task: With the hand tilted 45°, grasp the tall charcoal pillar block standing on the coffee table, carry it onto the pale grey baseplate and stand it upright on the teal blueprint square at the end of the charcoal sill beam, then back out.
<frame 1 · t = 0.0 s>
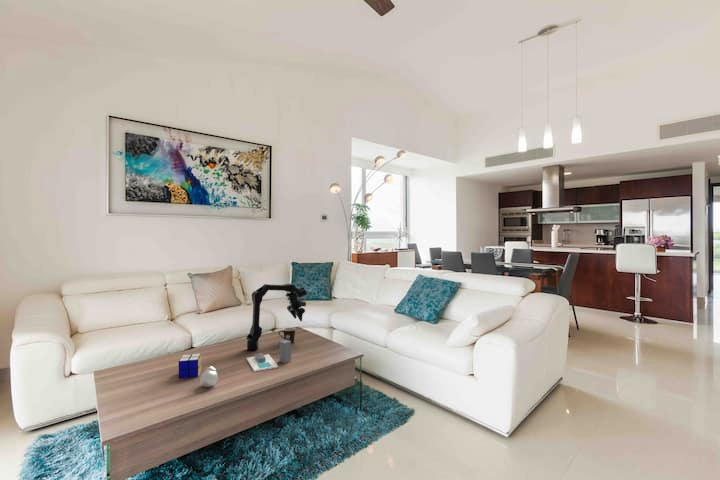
hand: (298, 319, 257), 15 cm above the table, tool pointing down, fingers open, 9 cm apart
pillar: (285, 361, 217), on the table
puzzle cube: (190, 374, 196), on the table
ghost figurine: (209, 386, 182), on the table
baseplate: (261, 363, 213), on the table
coffee mug: (287, 342, 253), on the table
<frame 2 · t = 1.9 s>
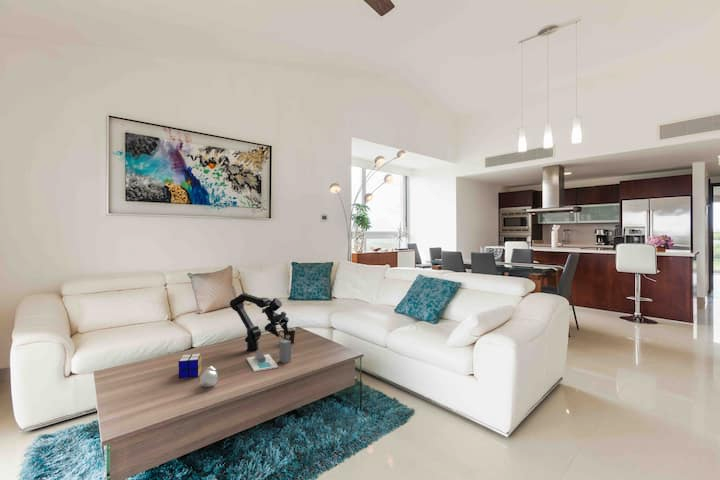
hand: (283, 334, 225), 14 cm above the table, tool tilted 40°, fingers open, 9 cm apart
nothing on the table moved.
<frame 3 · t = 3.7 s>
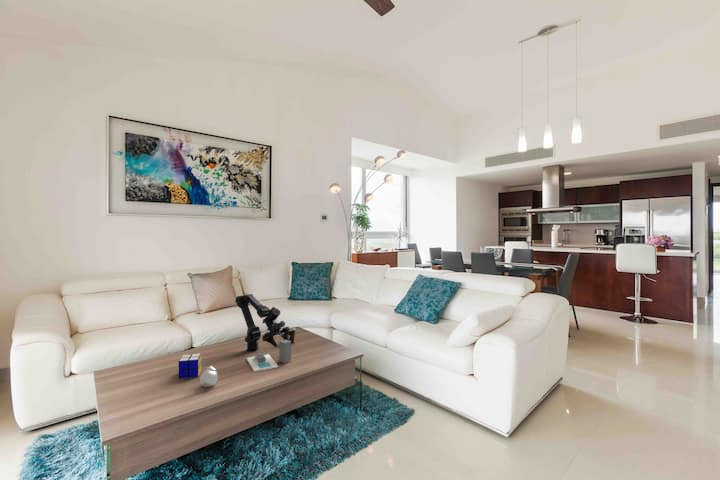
hand: (282, 344, 218), 10 cm above the table, tool tilted 45°, fingers open, 9 cm apart
nothing on the table moved.
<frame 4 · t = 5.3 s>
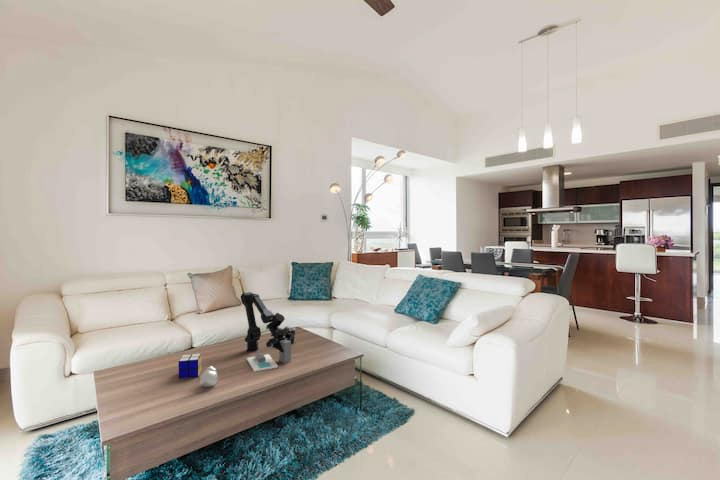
hand: (286, 351, 216), 7 cm above the table, tool tilted 45°, fingers closed on pillar, 5 cm apart
pillar: (285, 361, 217), on the table, touching gripper
everything else where it was.
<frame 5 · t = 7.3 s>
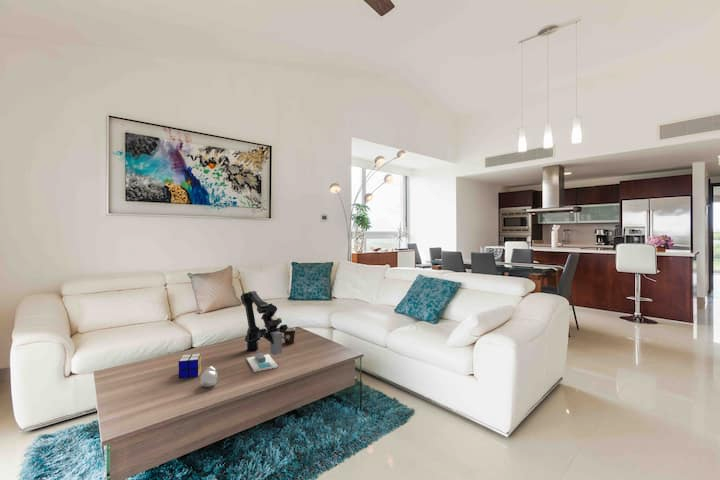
hand: (277, 342, 211), 13 cm above the table, tool tilted 45°, fingers closed on pillar, 5 cm apart
pillar: (276, 352, 212), point 7 cm above the table, touching gripper
everything else where it was.
when the fingers open (9 cm above the table, at t = 9.5 s): pillar drops 1 cm, resting on baseplate.
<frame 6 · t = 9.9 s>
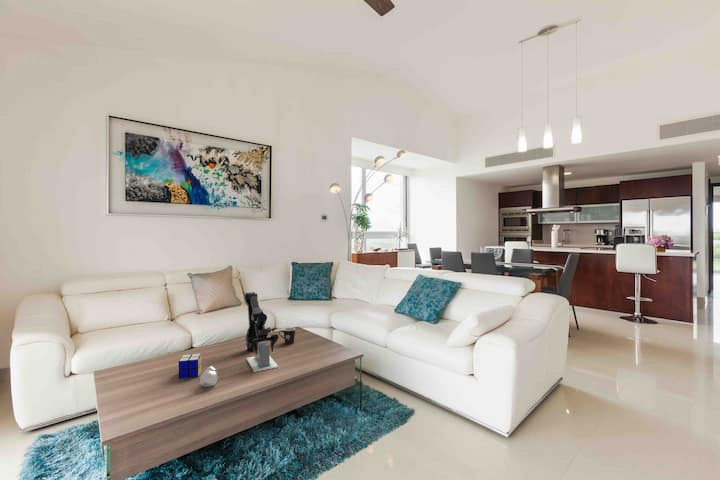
hand: (264, 353, 206), 9 cm above the table, tool tilted 45°, fingers open, 9 cm apart
pillar: (264, 365, 208), point 1 cm above the table, touching baseplate
everything else where it was.
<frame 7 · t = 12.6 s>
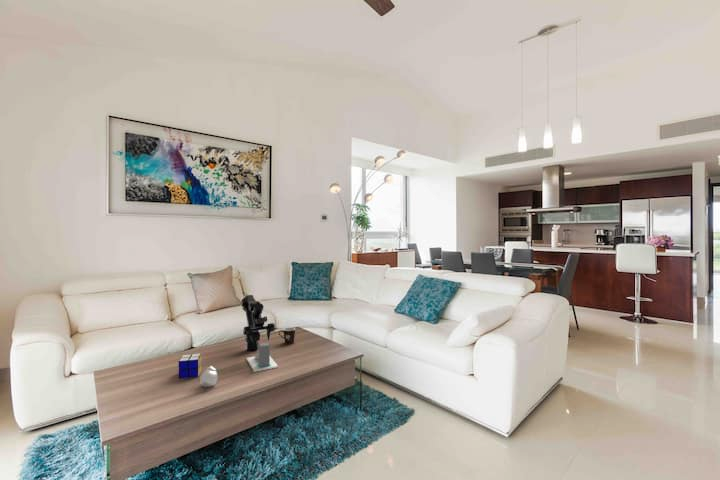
hand: (261, 340, 214), 14 cm above the table, tool tilted 45°, fingers open, 9 cm apart
nothing on the table moved.
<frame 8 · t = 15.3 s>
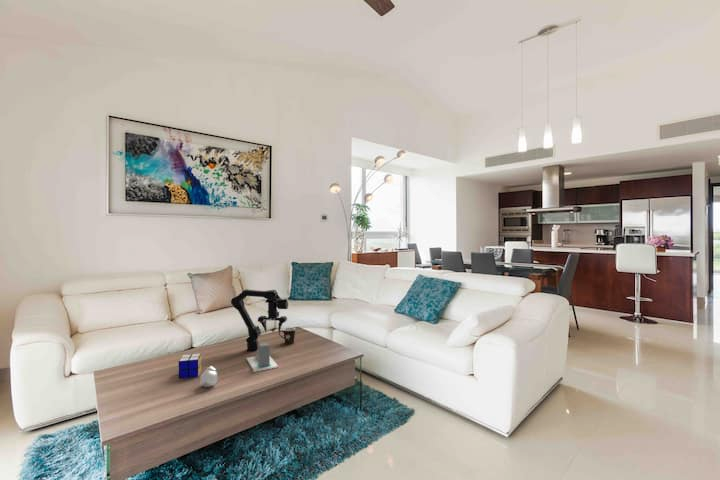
hand: (272, 331, 236), 13 cm above the table, tool pointing down, fingers open, 9 cm apart
nothing on the table moved.
at the end: pillar 0.1 cm from the target spot, point 1.1 cm above the table; pillar tilted 0°; the gripper is holding nothing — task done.
